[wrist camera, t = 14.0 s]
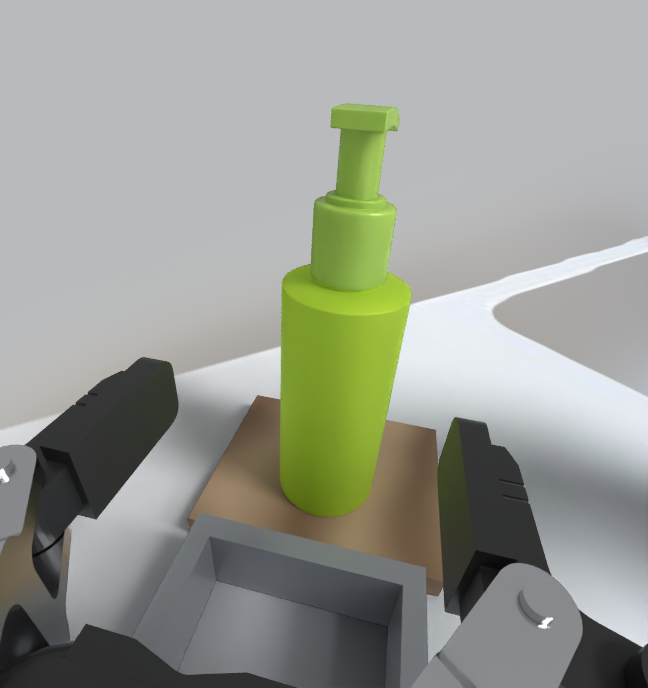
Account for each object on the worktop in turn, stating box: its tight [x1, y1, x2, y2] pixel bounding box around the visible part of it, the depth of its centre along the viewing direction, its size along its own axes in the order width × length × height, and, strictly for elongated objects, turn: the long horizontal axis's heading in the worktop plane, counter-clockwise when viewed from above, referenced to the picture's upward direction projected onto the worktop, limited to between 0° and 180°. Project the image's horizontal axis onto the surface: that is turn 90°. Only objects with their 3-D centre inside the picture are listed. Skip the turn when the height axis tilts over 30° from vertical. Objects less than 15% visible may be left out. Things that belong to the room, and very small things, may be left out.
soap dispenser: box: [280, 103, 412, 517], centre depth 19 cm, size 6×7×20 cm
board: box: [188, 395, 443, 596], centre depth 25 cm, size 14×11×2 cm
